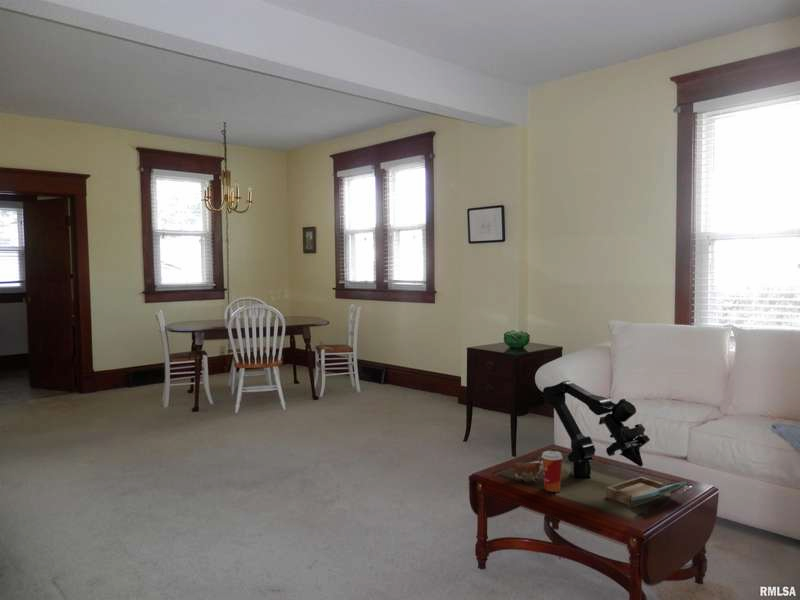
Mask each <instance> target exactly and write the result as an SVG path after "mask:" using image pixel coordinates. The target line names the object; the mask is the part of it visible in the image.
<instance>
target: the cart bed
mask: <svg viewBox="0 0 800 600" xmlns="http://www.w3.org/2000/svg"><path fill="white" fill-rule="evenodd" d="M664 486H665V484H664V483H663V482H660V481H656V480H654V479H650V478H648V477H647V478H646V477H644V476H641V475H640V476H638V477H635V478H632V479H628V480H626V481H622V482H619V483H615V484H612V485H609V486H607V487H606V488H605V489H606V496H605V497H606V498H609V499H611V500H614V501H616V502H620V503H623V504H625V505H628V506H631V505H634V504H637V503H640V502H642V501H646V500H648V499H651V498H654V497H656V496H658V495H655V496H652V497H647V498H643V499H638V500H634V501H632V500H631V498H632V497H635V496H638V495H641V494H644V493H647V492H650V491H653V490H655V489H658V488H661V487H664Z"/></svg>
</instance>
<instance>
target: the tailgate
mask: <svg viewBox="0 0 800 600" xmlns="http://www.w3.org/2000/svg"><path fill="white" fill-rule="evenodd" d="M685 485H688V483H687V481H686V480H684V481H682V482H676V483H672V484H669V485H664V487H661V488H658V489H655V490H653V491H650V492H647V493H644V494H641V495H638V496H635V497H632V498H631V500H632V501H634V500H638V499H643V498H647V497H651V498H653V497H652V496H654V497H656V496H655V495H657V496H661V495H664V494H667V493H670V492H672V491H675V490H678V489H680V488H681V487H683V486H685Z"/></svg>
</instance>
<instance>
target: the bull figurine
mask: <svg viewBox="0 0 800 600" xmlns="http://www.w3.org/2000/svg"><path fill="white" fill-rule="evenodd" d="M512 469H513V472H514V477H515V476H516V477H517V478H519V479H520V478H522V479H523V476H522V473H523V474H524V475H525V476H527V475H528V474H531V475H532V479H535V477H537V478H538V475H539V474H540V473H541V472H542V471H543V460H541V461H539V460H535V461H529V462H523V461H522V462H521V461H515V462H513V463H512ZM517 478H516V479H517ZM535 480H536V479H535Z"/></svg>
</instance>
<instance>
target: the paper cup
mask: <svg viewBox="0 0 800 600" xmlns="http://www.w3.org/2000/svg"><path fill="white" fill-rule="evenodd" d="M541 458H542V461H543V470H542V472H543V473H542V474H543V485H544V490H545V489H548V490H552V491H558V490H560V491H561V480H562V460H563V455H562V453H561V452H560V451H554V450H545V451H543V452H542V454H541Z"/></svg>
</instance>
